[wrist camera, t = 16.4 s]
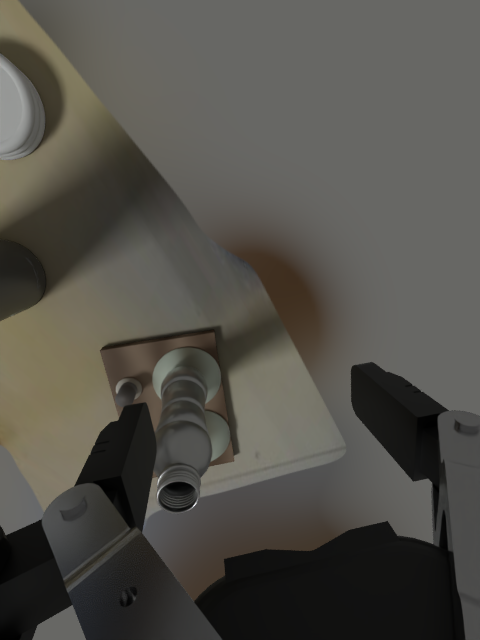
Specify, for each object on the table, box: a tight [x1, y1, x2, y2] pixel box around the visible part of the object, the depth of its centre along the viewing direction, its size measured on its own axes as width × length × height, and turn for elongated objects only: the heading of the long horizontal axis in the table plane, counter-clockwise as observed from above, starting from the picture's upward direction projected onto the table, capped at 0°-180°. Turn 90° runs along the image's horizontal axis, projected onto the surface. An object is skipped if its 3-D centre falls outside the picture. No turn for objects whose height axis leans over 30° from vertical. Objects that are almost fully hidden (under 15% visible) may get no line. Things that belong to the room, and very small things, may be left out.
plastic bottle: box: [154, 366, 213, 514], centre depth 35 cm, size 6×7×20 cm
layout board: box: [100, 330, 234, 478], centre depth 45 cm, size 16×23×4 cm
